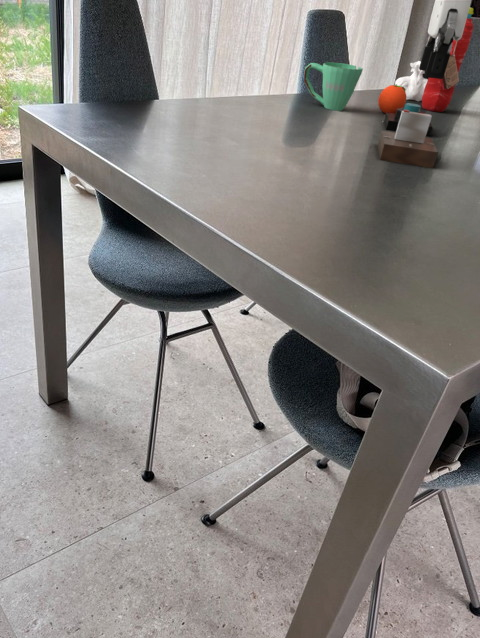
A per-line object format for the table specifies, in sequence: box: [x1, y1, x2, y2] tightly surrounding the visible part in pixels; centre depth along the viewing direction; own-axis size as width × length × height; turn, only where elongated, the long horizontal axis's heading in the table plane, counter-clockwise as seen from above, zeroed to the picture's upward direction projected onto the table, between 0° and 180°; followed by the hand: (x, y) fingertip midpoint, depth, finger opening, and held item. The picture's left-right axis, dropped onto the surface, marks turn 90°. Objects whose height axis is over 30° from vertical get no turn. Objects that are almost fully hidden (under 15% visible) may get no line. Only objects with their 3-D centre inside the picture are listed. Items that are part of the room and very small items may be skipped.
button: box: [403, 102, 422, 113], centre depth 133 cm, size 4×4×2 cm
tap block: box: [377, 130, 439, 169], centre depth 112 cm, size 10×12×3 cm
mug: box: [303, 61, 364, 112], centre depth 145 cm, size 15×10×10 cm
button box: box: [383, 107, 434, 138], centre depth 134 cm, size 10×10×4 cm
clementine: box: [377, 84, 407, 115], centre depth 147 cm, size 8×7×7 cm
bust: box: [394, 60, 428, 102], centre depth 171 cm, size 12×8×11 cm
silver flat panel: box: [395, 110, 432, 144], centre depth 110 cm, size 6×2×5 cm, turn 78°
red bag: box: [421, 6, 474, 113], centre depth 152 cm, size 12×8×25 cm, turn 163°
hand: (430, 74), depth 106 cm, fingers open, 9 cm apart
